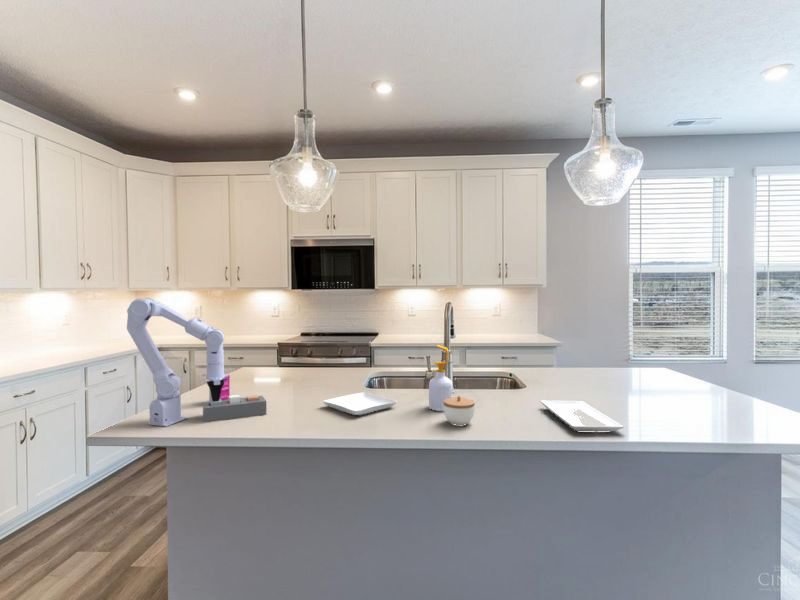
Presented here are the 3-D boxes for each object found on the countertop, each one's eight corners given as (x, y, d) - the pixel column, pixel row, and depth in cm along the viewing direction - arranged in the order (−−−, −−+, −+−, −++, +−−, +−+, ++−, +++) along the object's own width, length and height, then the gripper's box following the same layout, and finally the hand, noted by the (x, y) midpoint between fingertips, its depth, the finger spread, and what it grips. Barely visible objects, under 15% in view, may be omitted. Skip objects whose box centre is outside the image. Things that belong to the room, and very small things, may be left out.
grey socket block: (204, 422, 151) (203, 408, 151) (202, 415, 159) (202, 402, 159) (266, 414, 160) (266, 401, 160) (262, 408, 168) (262, 395, 168)
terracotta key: (248, 409, 160) (248, 398, 160) (247, 406, 163) (246, 396, 163) (258, 407, 162) (258, 397, 161) (257, 405, 165) (256, 395, 165)
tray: (581, 408, 169) (582, 399, 169) (625, 436, 138) (625, 425, 138) (538, 408, 169) (538, 399, 169) (572, 437, 138) (572, 426, 137)
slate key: (210, 413, 154) (210, 402, 154) (210, 411, 157) (210, 400, 157) (221, 412, 156) (221, 401, 156) (220, 409, 159) (220, 399, 159)
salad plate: (363, 398, 184) (363, 390, 184) (398, 408, 169) (398, 400, 169) (321, 408, 169) (321, 400, 169) (355, 420, 154) (355, 411, 154)
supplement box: (216, 405, 172) (216, 377, 172) (208, 403, 176) (208, 375, 175) (230, 402, 177) (229, 374, 176) (222, 400, 180) (221, 372, 180)
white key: (229, 408, 157) (229, 397, 157) (228, 406, 160) (228, 395, 160) (240, 407, 159) (240, 396, 159) (239, 405, 162) (239, 394, 162)
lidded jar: (441, 418, 155) (441, 392, 155) (470, 418, 156) (470, 392, 156) (445, 428, 144) (446, 400, 144) (477, 428, 145) (477, 400, 145)
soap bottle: (430, 404, 174) (430, 343, 173) (453, 405, 172) (453, 344, 171) (427, 410, 165) (427, 346, 164) (451, 412, 163) (451, 347, 162)
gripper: (229, 365, 151) (229, 404, 152) (225, 359, 164) (225, 395, 165) (207, 367, 148) (207, 407, 149) (204, 361, 161) (205, 397, 162)
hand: (215, 400), depth 156 cm, fingers closed, pressing on slate key
